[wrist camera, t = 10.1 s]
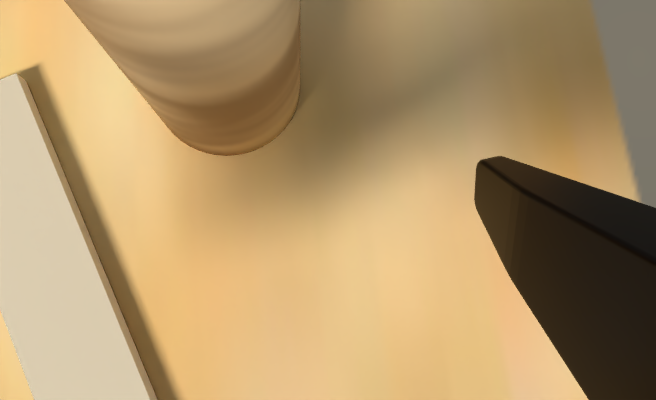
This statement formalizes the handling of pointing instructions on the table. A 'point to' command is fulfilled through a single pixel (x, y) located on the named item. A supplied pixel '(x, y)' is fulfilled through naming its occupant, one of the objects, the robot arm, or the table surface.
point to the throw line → (55, 272)
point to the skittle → (206, 64)
